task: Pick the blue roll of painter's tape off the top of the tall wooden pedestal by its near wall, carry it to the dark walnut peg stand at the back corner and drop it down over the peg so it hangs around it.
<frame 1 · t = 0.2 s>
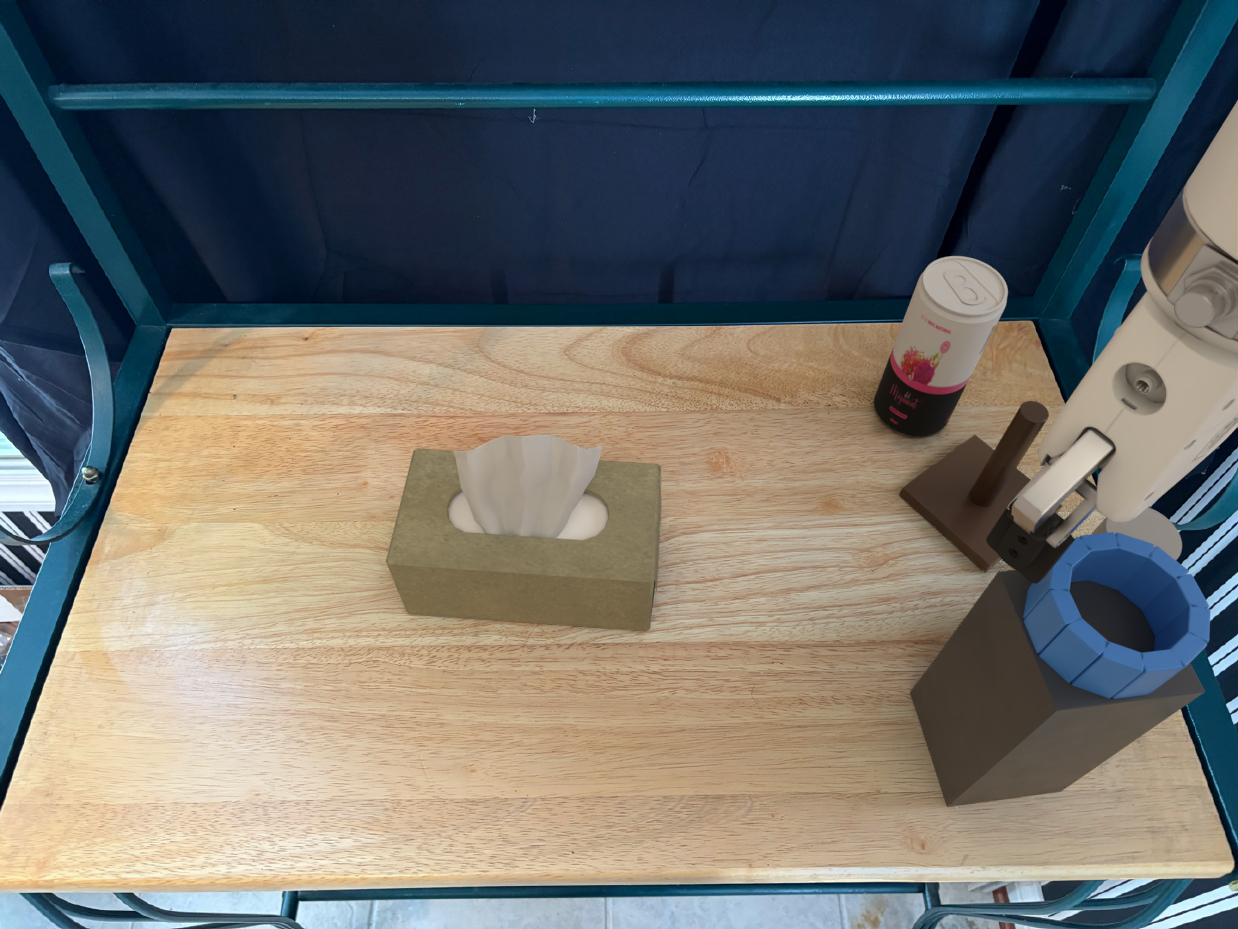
hand: (1072, 511, 47), 22 cm above the table, tool pointing down, fingers open, 9 cm apart
beverage can: (909, 411, 80), on the table
tissue box: (535, 567, 71), on the table
stand: (977, 504, 74), on the table
container: (1045, 639, 68), on the table
pedestal: (983, 740, 63), on the table
tape: (1097, 629, 48), point 18 cm above the table, touching pedestal
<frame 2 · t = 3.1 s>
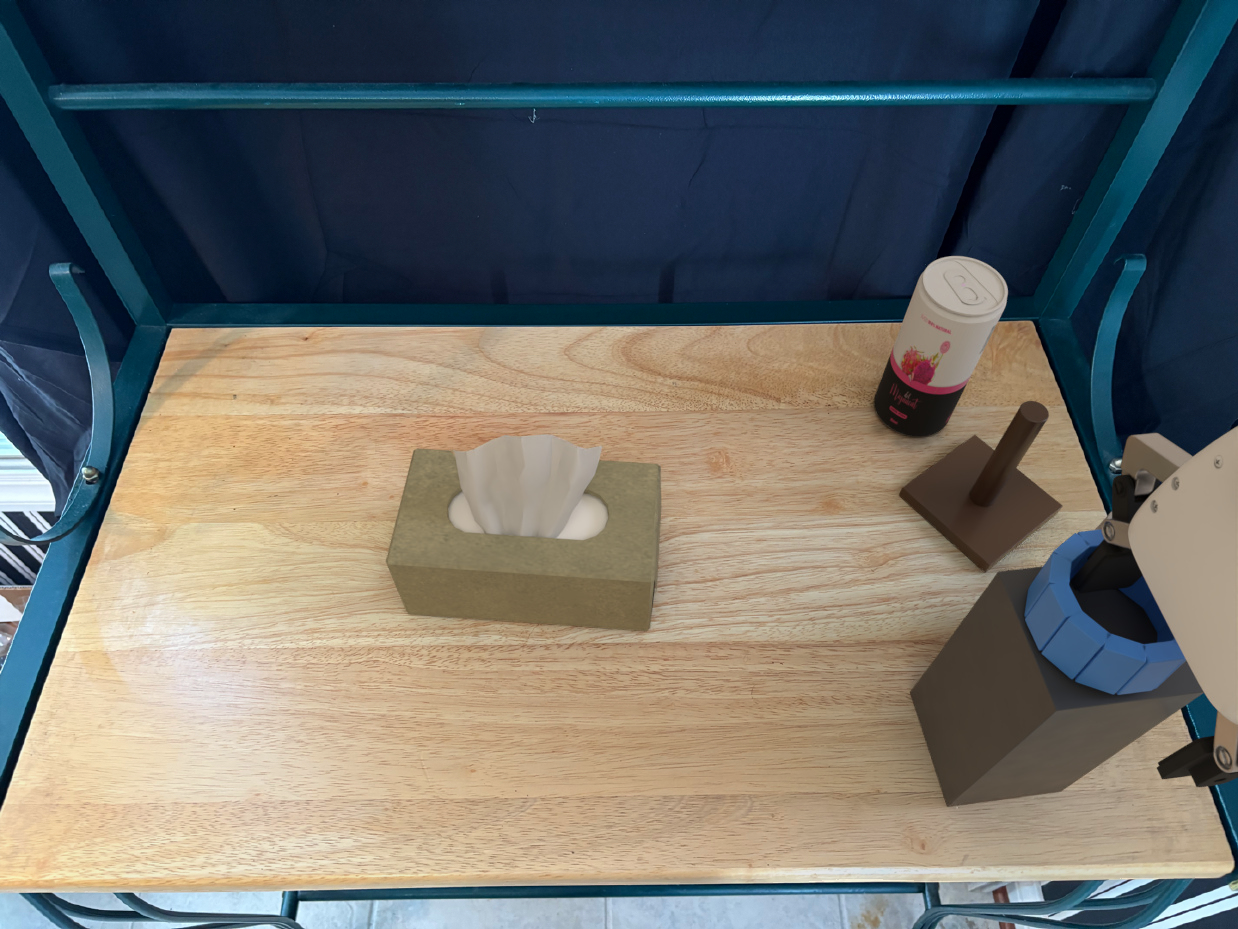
hand: (1141, 671, 45), 20 cm above the table, tool pointing down, fingers open, 9 cm apart
tape: (1099, 626, 48), point 18 cm above the table, touching gripper, pedestal
everything else where it was.
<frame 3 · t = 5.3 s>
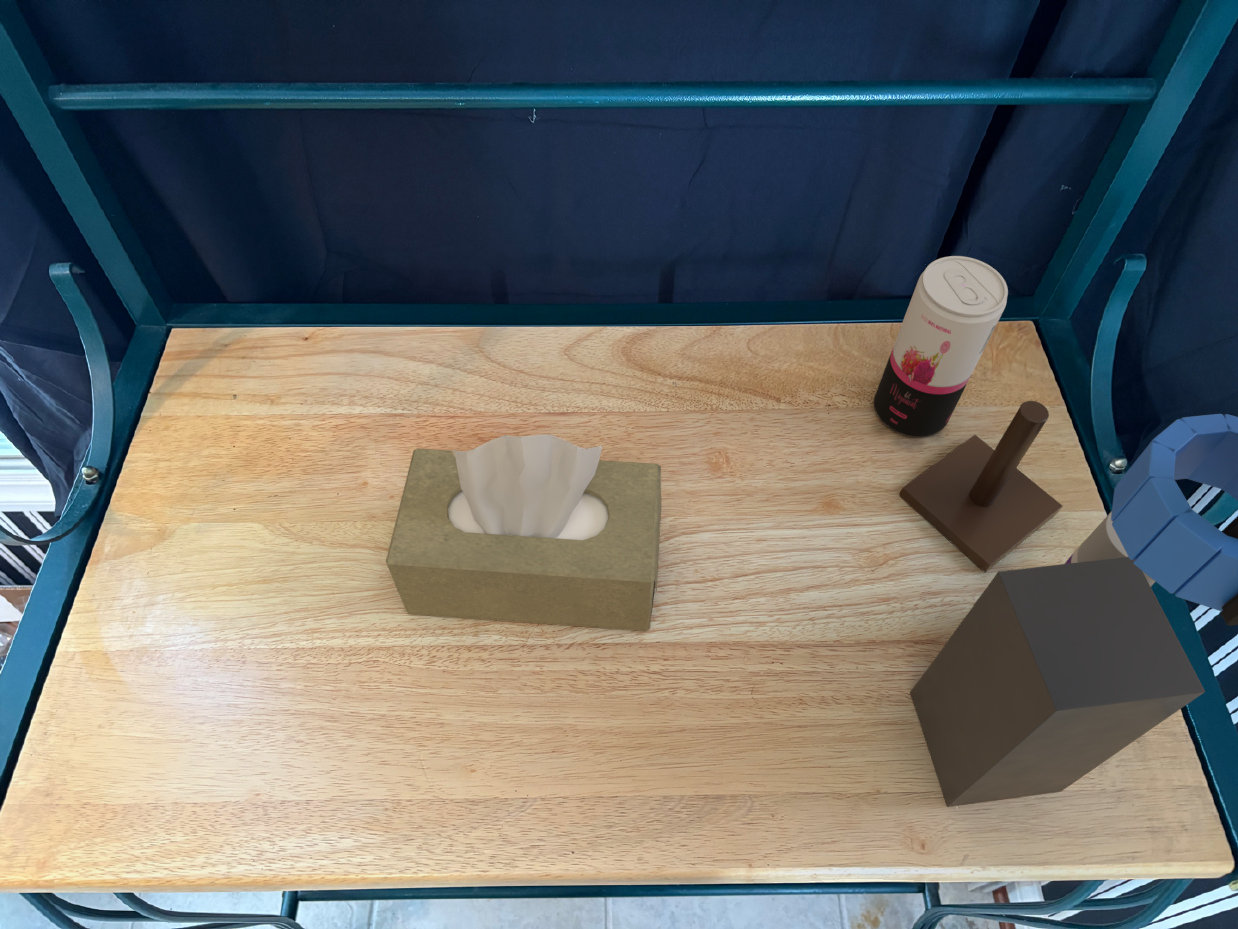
tape: (1201, 532, 40), point 28 cm above the table, touching gripper
everything else where it was.
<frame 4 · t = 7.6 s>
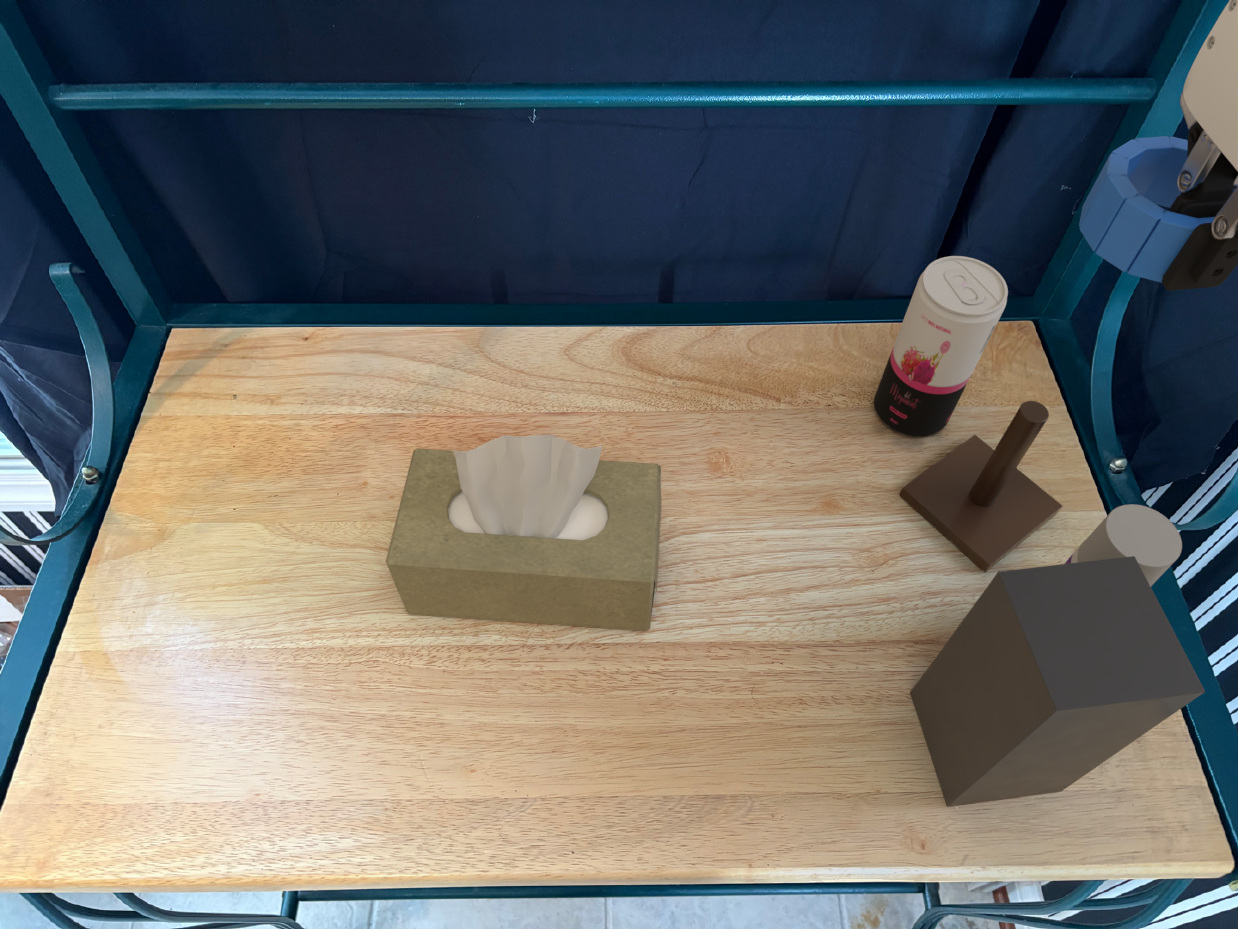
hand: (1180, 269, 48), 29 cm above the table, tool pointing down, fingers closed on tape
tape: (1150, 234, 50), point 29 cm above the table, touching gripper
everything else where it was.
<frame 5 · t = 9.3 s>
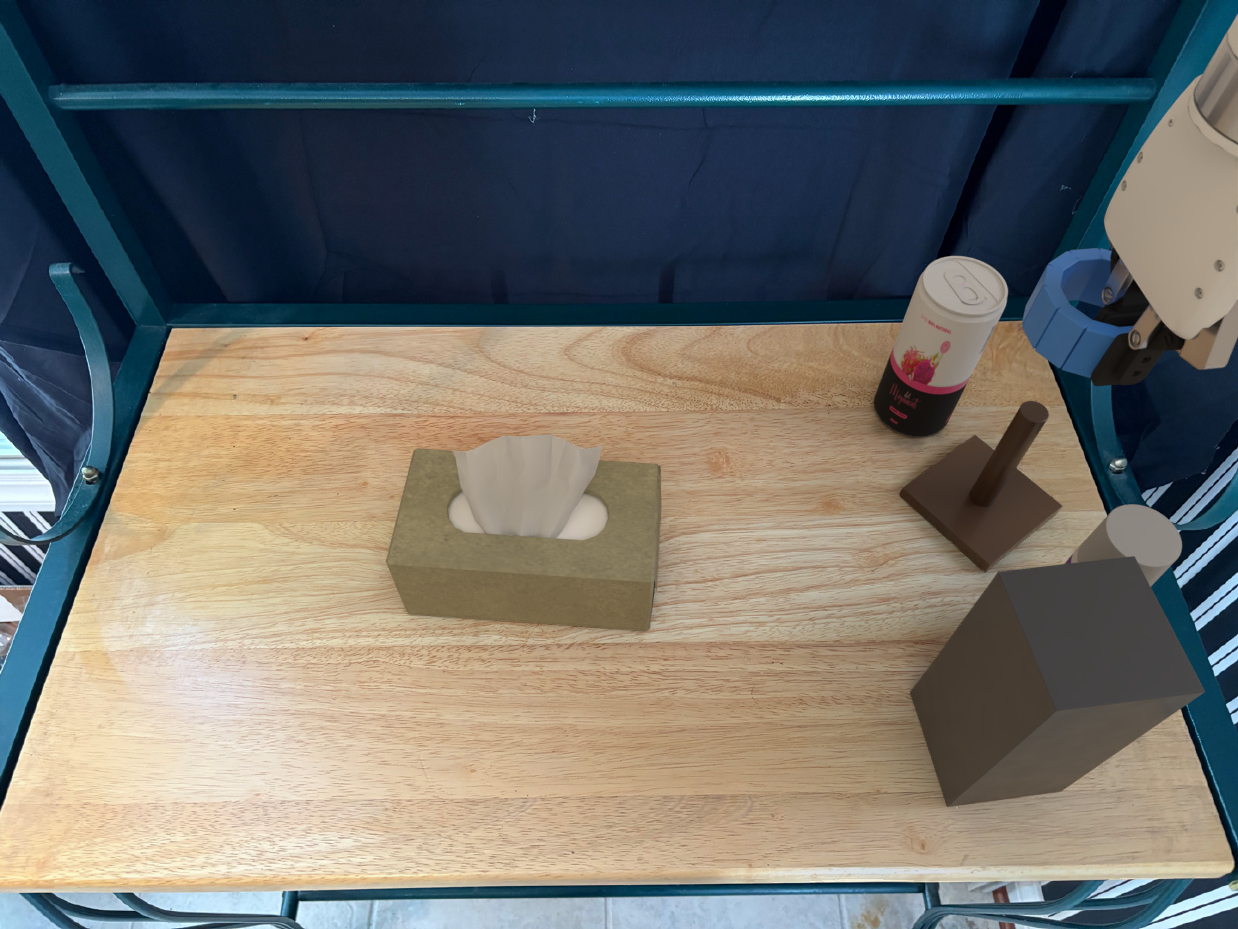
hand: (1107, 366, 56), 21 cm above the table, tool pointing down, fingers closed on tape
tape: (1084, 332, 58), point 20 cm above the table, touching gripper
everything else where it was.
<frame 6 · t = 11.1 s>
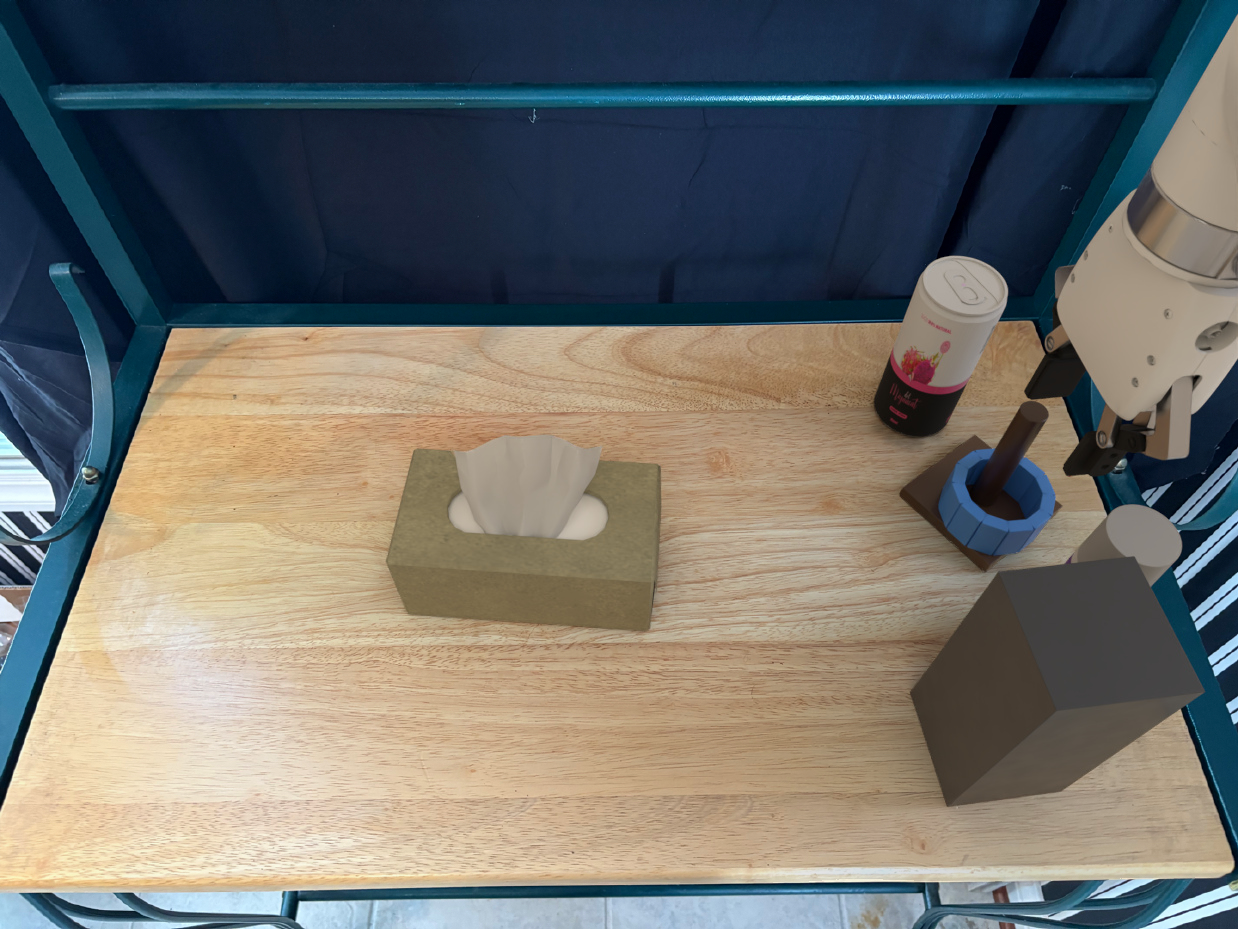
hand: (1066, 429, 61), 14 cm above the table, tool pointing down, fingers open, 5 cm apart
tape: (987, 513, 72), point 1 cm above the table, touching stand
everything else where it was.
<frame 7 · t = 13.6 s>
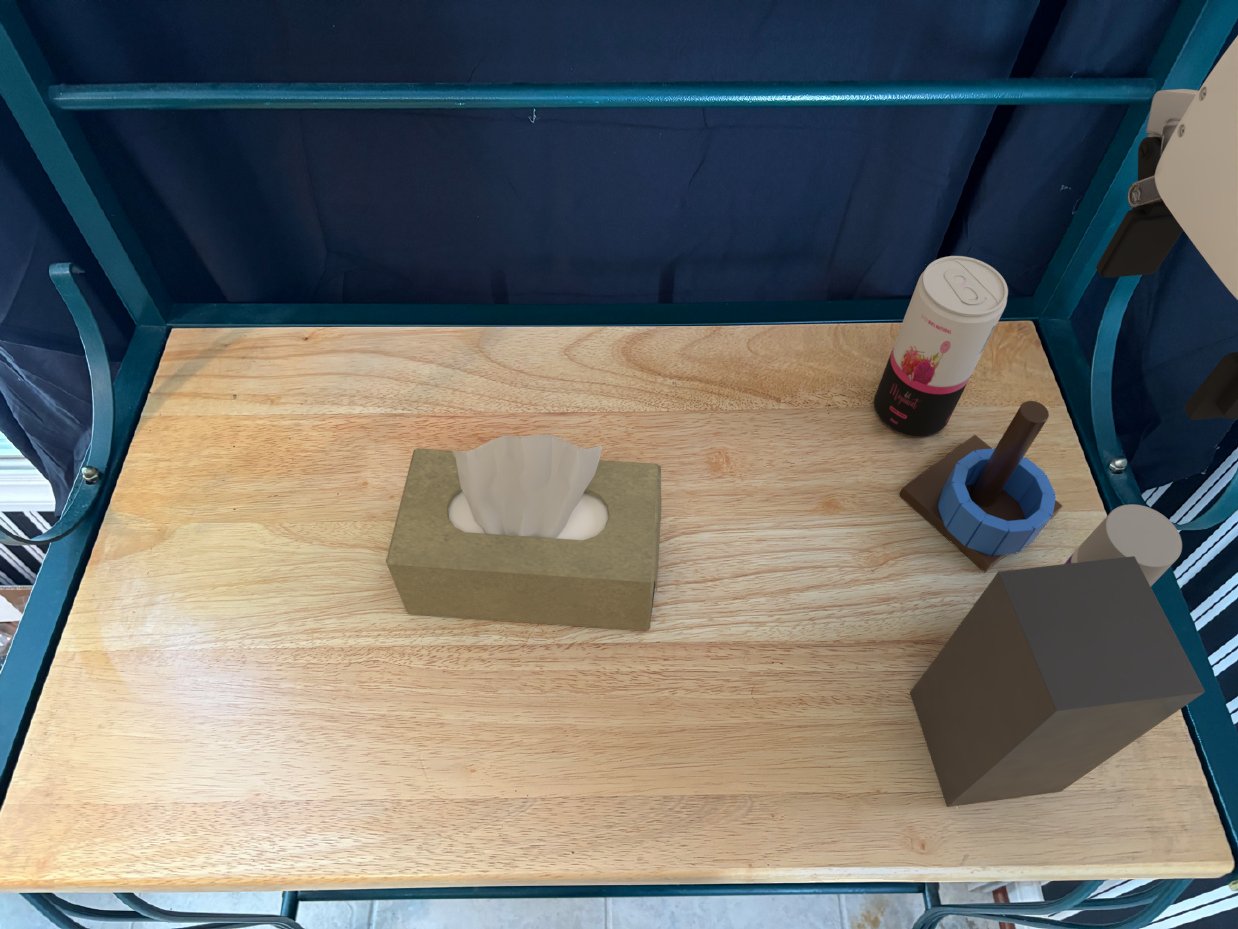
hand: (1167, 338, 46), 29 cm above the table, tool pointing down, fingers open, 9 cm apart
nothing on the table moved.
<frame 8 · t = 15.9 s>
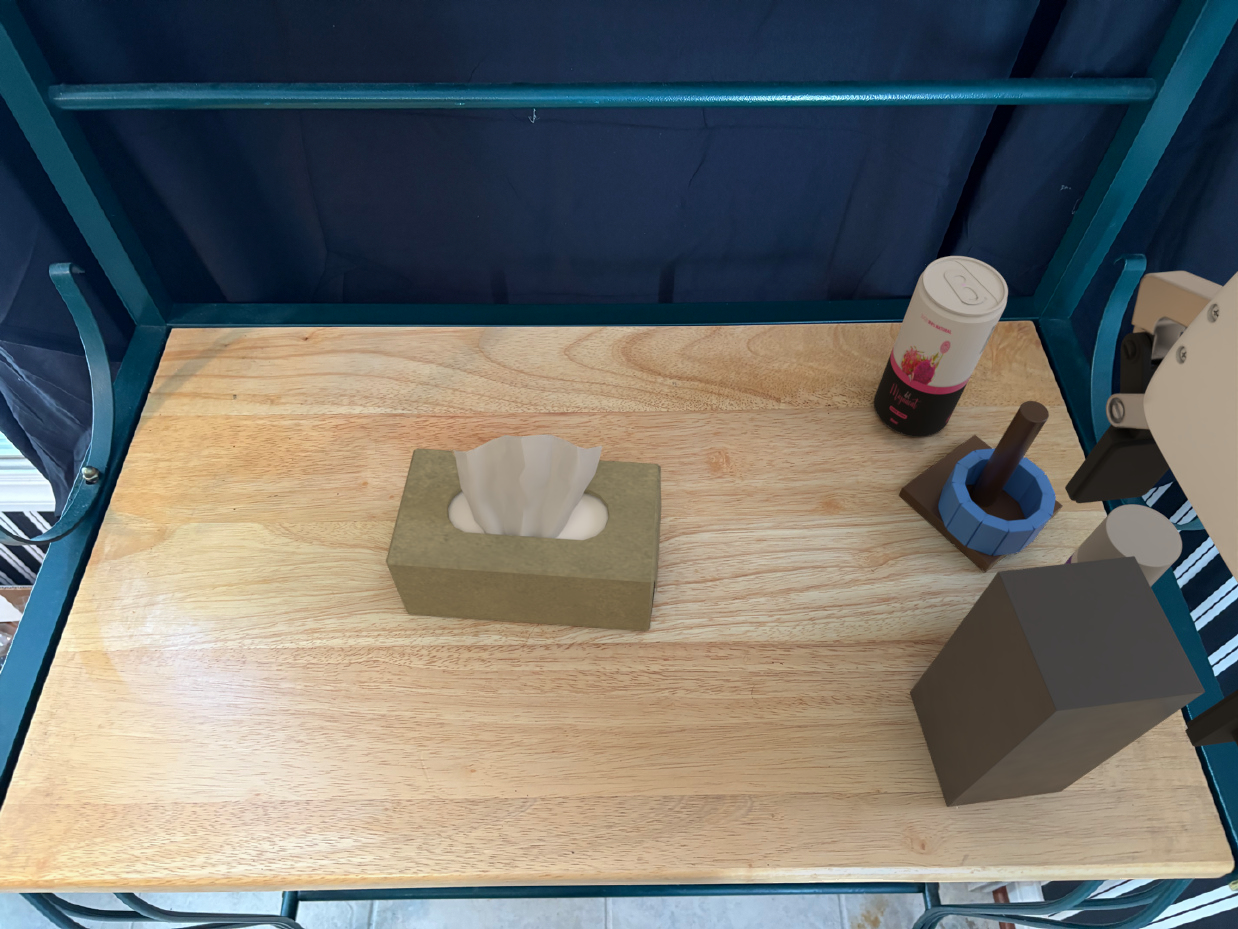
hand: (1160, 603, 33), 32 cm above the table, tool pointing down, fingers open, 9 cm apart
nothing on the table moved.
at the end: tape 1.6 cm off-centre on the stand, point 1.2 cm above the stand's base; the gripper is holding nothing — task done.
